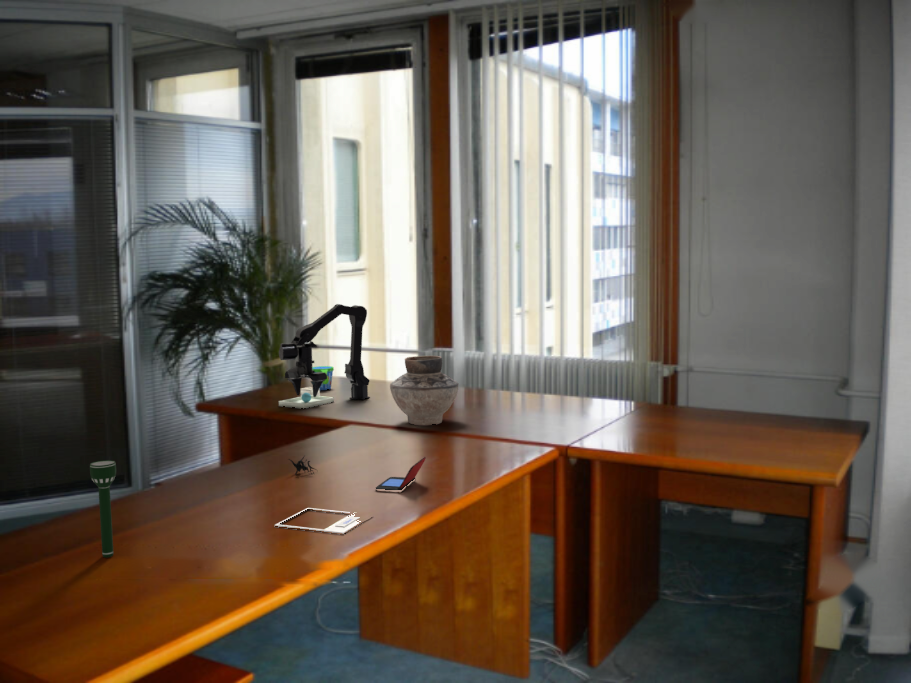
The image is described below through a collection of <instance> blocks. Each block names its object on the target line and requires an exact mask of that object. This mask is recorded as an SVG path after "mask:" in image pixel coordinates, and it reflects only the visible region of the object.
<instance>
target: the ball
mask: <svg viewBox="0 0 911 683" xmlns="http://www.w3.org/2000/svg"><path fill="white" fill-rule="evenodd" d="M300 397H301V396H300ZM301 398H302V400H303V401H304V402H309V401H310V400H311V395H310V394H309V393H304V394H303V395H302V397H301Z"/></svg>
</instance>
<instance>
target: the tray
mask: <svg viewBox="0 0 911 683" xmlns="http://www.w3.org/2000/svg"><path fill="white" fill-rule="evenodd" d="M301 397H302V396H301V395H300V396H297V397H293V398H292V397H291V398H287V399H283V400H278V407H283V406H285V407H284V408H292V407H295V408H294V409H301V408H303V409H302V410H305V409H304V408H306V409H310V408H313V407H314V406H315V407H318V405H319V406H323V404H324V405H328V404H331V402H333V403H335V398H334V397H332V396H325V395H324V396H322V395H320V396H316V397H313V395H311V400H310V401H309V402H304V401H303V400H302V398H301ZM327 403H328V404H327ZM309 407H310V408H309Z"/></svg>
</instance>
